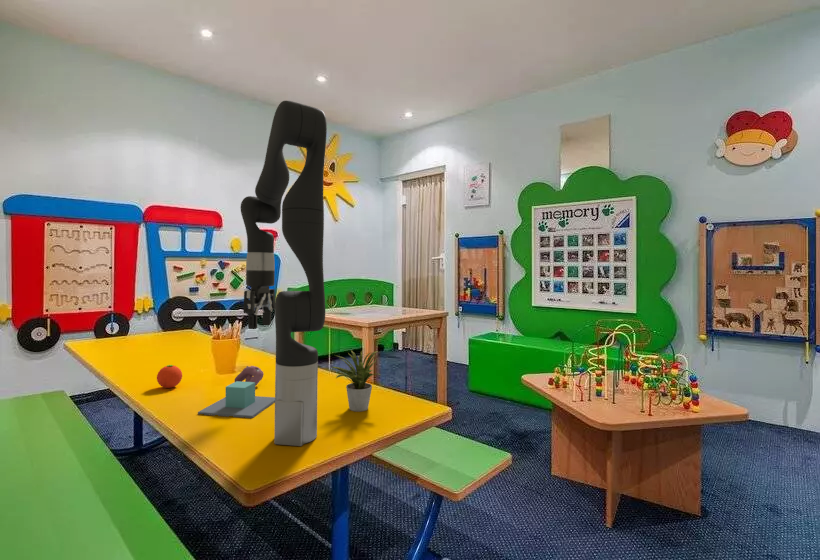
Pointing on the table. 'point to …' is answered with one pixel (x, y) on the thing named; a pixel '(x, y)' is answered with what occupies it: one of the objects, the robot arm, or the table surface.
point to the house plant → (358, 382)
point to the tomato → (169, 376)
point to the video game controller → (250, 375)
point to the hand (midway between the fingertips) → (260, 326)
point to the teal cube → (240, 394)
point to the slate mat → (247, 412)
